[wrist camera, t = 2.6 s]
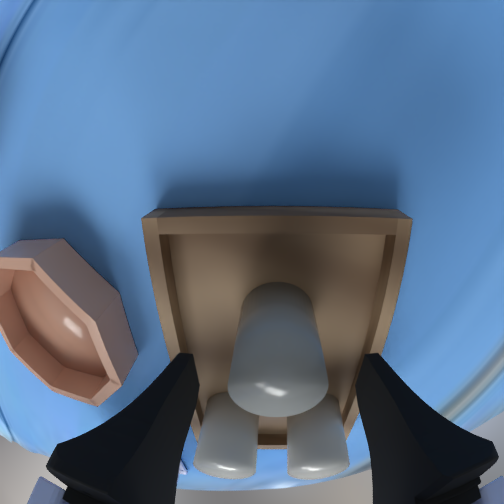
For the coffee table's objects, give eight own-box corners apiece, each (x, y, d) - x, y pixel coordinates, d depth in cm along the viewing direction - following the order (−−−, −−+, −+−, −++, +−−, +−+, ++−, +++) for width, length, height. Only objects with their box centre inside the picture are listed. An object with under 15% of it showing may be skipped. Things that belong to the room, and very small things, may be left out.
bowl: (150, 387, 20) (138, 417, 17) (43, 360, 20) (28, 380, 17) (107, 237, 15) (76, 259, 12) (-3, 241, 16) (-29, 256, 13)
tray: (341, 429, 21) (343, 445, 19) (201, 428, 21) (197, 444, 20) (397, 209, 13) (412, 219, 11) (155, 208, 14) (141, 218, 12)
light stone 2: (333, 420, 19) (341, 476, 14) (284, 422, 19) (285, 480, 14) (343, 390, 18) (356, 454, 12) (288, 393, 18) (289, 459, 13)
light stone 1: (259, 422, 19) (255, 480, 14) (210, 419, 20) (198, 475, 15) (259, 393, 18) (255, 459, 13) (203, 390, 18) (187, 453, 13)
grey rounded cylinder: (309, 340, 16) (320, 415, 11) (242, 340, 16) (231, 415, 11) (316, 281, 14) (336, 354, 9) (238, 281, 15) (223, 354, 9)
